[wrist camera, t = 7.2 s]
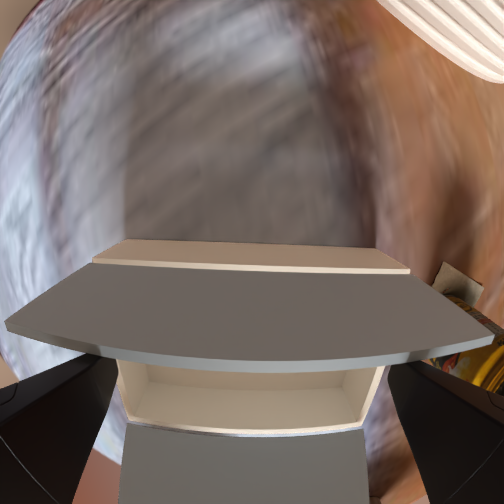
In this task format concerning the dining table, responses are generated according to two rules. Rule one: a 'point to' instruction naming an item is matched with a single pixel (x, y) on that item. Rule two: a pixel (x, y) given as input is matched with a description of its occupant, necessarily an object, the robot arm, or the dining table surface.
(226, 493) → the flap
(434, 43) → the plate stack
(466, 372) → the condiment
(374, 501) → the plant pot
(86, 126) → the dining table surface
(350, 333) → the flap
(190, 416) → the carton
